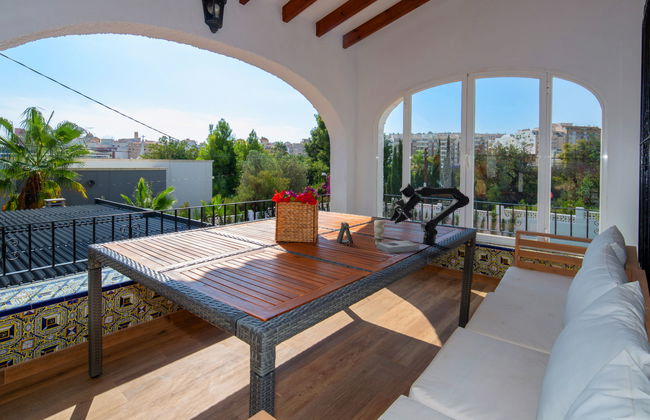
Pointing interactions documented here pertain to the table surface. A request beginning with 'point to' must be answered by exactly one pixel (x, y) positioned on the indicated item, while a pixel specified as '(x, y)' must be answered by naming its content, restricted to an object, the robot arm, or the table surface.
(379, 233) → the ash peg
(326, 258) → the table surface
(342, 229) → the grey a-shaped frame
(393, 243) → the grey slab with hole
